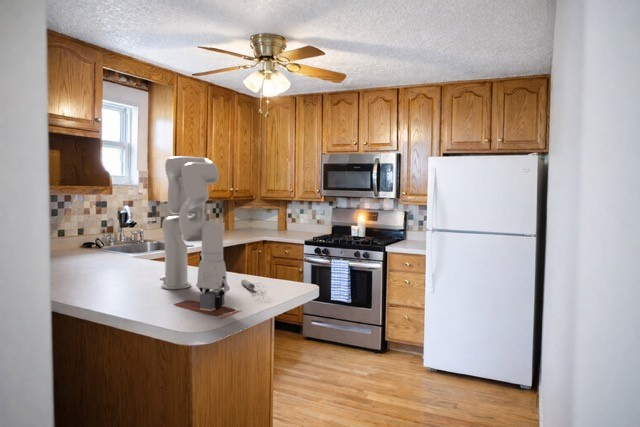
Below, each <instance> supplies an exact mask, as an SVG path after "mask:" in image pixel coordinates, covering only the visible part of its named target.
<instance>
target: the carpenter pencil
mask: <svg viewBox="0 0 640 427" xmlns="http://www.w3.org/2000/svg"><path fill="white" fill-rule="evenodd" d="M241 311H242V309H241V308H240V309H237V310H236V311H234V312H230V313H225V315H224V314H223V315H221V316H219V319H220V320H223V319H225V318H228V317H230V316H233V315H234V314H237V313H239V312H241Z"/></svg>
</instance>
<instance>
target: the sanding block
mask: <svg viewBox="0 0 640 427" xmlns="http://www.w3.org/2000/svg"><path fill="white" fill-rule="evenodd" d="M219 293H220V291H219ZM215 298H216V292H215V290H212V289H211V290H210V291H209V292H206V293H203V294H202V293H201V294H200V295H199V299H200V300H199V302H200V310H206V311H212V310H215V309H216V308H215ZM223 306H225V295H224V296H222V307H223Z"/></svg>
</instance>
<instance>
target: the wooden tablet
mask: <svg viewBox="0 0 640 427" xmlns="http://www.w3.org/2000/svg"><path fill="white" fill-rule="evenodd" d="M173 306H175V307H176V308H177V307H178V308H182V309H186V310H191V311H194V312H195V311H196V312H199V313H203V314H206V315H210V316H215V317H221V316H224V314H229V313H231V312H234V311H236V309H235V308H233V307H229V306H225V305H224V306H223V307H220V308H217V309H215V310H212V311H206V310H200V300H199V301H198V300H192V299H185V300H182V301H178V302H176V303H173Z"/></svg>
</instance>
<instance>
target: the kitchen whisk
mask: <svg viewBox="0 0 640 427" xmlns="http://www.w3.org/2000/svg"><path fill="white" fill-rule="evenodd" d="M240 284H241V285H242V286H243V287H245V288H247V289H248V290H249V291H250V292H249V294H250V295H252V296H253V297H255V296H256V297H257V296H259V295H262V300H263V299H264V298H265V296H264V295H265V293H266V290H261V288H260V287H262V288H265V286H264V284H262V282H260V284H261V285H258V282H256V283H252V282H250V281H248V280H246V279H245V278H244V279H242V280H241V281H240ZM257 287H258V288H257ZM259 290H261V291H259ZM253 291H254V292H256V293H257V292H258V293H257V294H256V295H255V294H253ZM260 298H261V296H259V297H258V298H257V300H259V299H260Z"/></svg>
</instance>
